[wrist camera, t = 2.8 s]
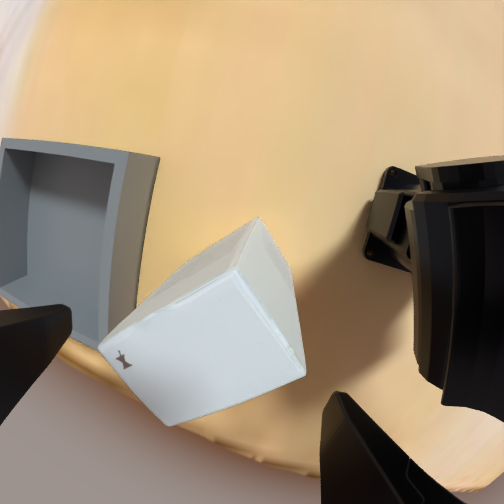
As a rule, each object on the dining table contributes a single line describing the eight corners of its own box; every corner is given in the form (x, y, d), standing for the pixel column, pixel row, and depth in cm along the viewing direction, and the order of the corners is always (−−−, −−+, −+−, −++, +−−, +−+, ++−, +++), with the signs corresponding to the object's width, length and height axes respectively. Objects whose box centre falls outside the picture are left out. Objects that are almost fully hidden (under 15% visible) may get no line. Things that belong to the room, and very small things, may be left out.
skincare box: (221, 308, 21) (164, 431, 9) (187, 259, 20) (89, 346, 8) (294, 267, 19) (311, 379, 8) (261, 213, 19) (231, 260, 7)
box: (160, 157, 19) (129, 151, 14) (134, 327, 22) (108, 355, 17) (36, 140, 19) (2, 137, 15) (26, 278, 22) (-4, 292, 18)
